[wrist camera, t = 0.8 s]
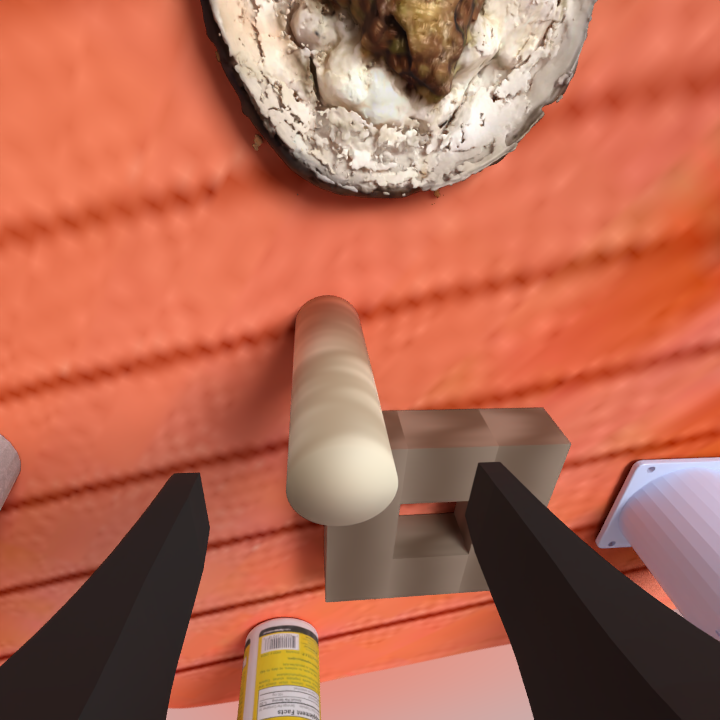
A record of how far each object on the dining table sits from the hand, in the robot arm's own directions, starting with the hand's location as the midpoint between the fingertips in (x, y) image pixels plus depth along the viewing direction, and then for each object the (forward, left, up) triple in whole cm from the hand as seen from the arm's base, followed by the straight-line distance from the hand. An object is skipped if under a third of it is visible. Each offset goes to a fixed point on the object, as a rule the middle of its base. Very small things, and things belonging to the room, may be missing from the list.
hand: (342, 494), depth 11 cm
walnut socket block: (-6, +11, -10) cm, 16 cm away
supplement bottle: (+3, +26, -10) cm, 28 cm away
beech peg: (0, 0, -10) cm, 10 cm away
